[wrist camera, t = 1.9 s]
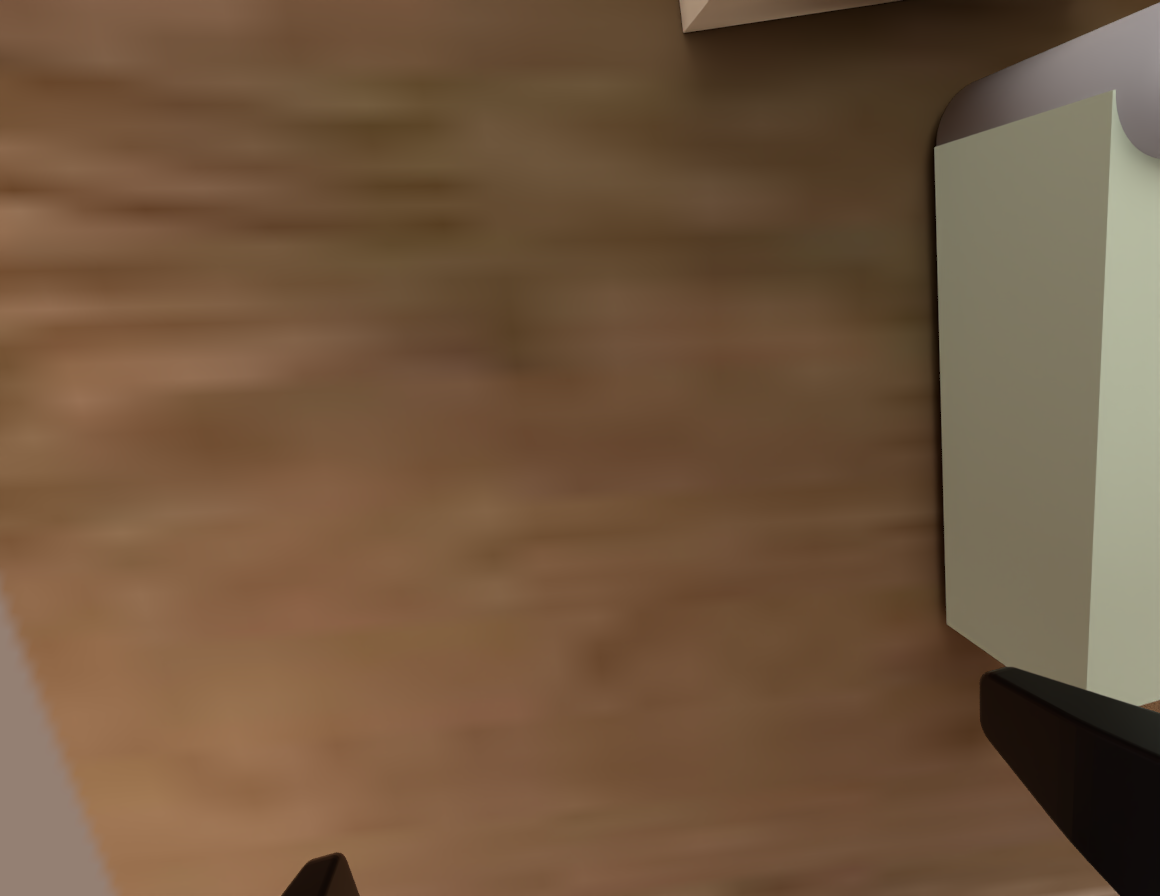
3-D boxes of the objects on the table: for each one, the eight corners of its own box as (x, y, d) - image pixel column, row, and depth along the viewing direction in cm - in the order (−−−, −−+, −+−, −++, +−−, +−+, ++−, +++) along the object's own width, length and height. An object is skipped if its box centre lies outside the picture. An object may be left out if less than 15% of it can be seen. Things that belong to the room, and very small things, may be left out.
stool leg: (932, 86, 13) (1144, -10, 9) (1036, 69, 14) (1288, -32, 9) (946, 624, 17) (1103, 734, 13) (1029, 602, 17) (1210, 703, 13)
